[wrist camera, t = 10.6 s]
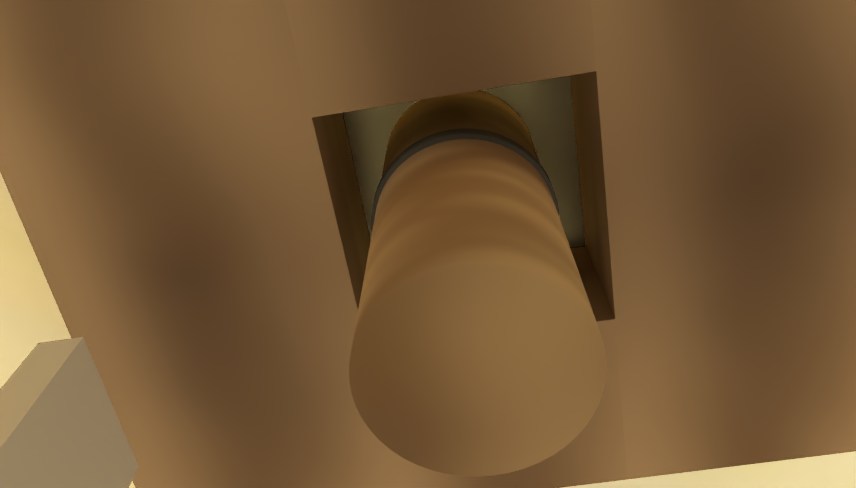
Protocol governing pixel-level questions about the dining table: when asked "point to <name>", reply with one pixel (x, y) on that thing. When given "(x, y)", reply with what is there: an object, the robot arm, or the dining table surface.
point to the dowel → (472, 299)
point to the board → (349, 238)
